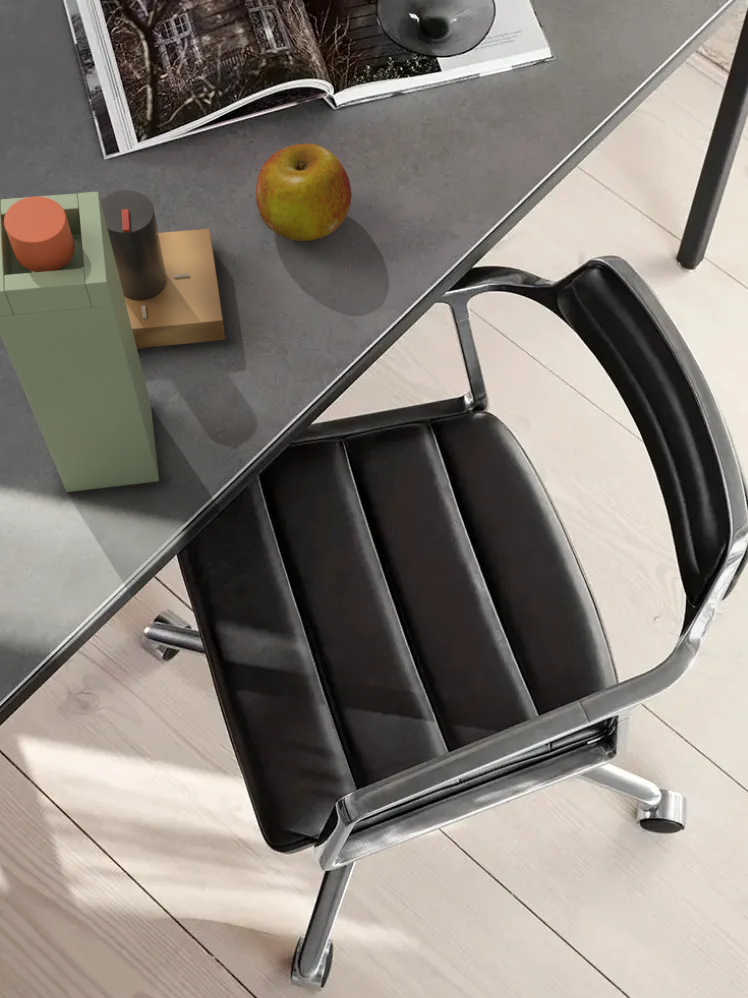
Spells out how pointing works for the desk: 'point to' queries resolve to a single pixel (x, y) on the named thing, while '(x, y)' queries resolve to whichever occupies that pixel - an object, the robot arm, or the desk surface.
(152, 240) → the dial knob
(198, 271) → the dial panel
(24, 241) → the button
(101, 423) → the button stand
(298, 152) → the fruit
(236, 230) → the desk surface
